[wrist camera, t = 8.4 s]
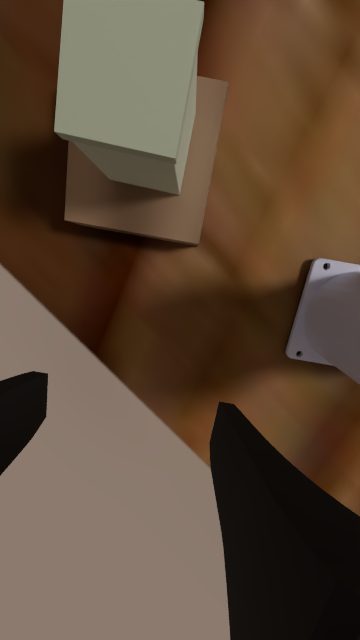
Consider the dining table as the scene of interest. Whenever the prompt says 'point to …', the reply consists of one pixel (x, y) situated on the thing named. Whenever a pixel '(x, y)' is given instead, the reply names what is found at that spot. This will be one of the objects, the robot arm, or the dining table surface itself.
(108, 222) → the tan flat square block
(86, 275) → the dining table surface
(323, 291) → the robot arm
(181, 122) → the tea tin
